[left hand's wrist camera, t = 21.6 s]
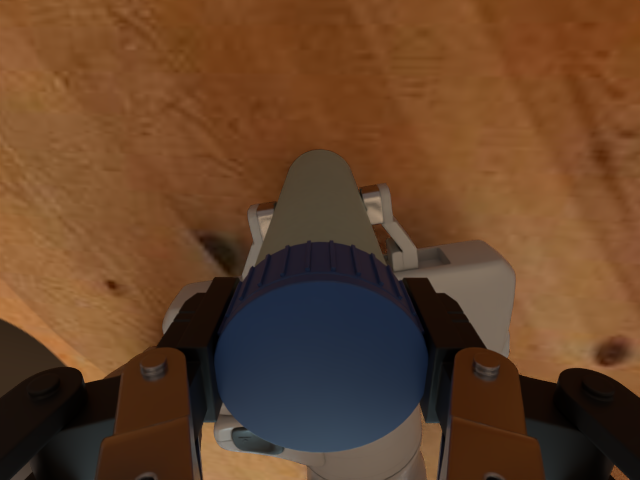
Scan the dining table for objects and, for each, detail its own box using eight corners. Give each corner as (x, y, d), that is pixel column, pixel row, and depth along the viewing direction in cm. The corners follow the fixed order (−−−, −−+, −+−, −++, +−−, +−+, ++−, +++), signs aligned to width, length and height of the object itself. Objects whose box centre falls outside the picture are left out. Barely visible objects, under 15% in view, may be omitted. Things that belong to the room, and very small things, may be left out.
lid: (336, 198, 10) (340, 230, 8) (445, 332, 11) (474, 388, 9) (192, 310, 11) (162, 363, 9) (309, 416, 13) (307, 483, 10)
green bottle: (338, 223, 28) (368, 444, 11) (277, 201, 28) (207, 398, 10) (363, 164, 27) (448, 312, 9) (299, 138, 26) (260, 247, 9)
